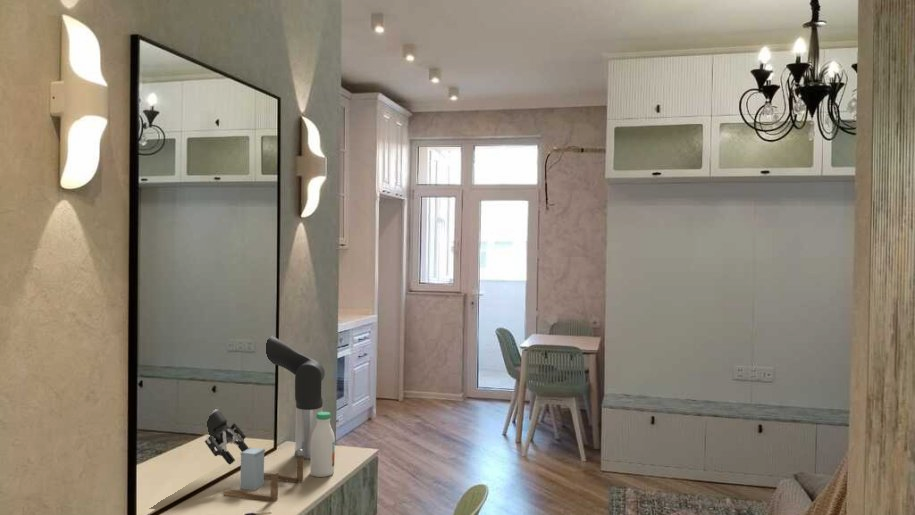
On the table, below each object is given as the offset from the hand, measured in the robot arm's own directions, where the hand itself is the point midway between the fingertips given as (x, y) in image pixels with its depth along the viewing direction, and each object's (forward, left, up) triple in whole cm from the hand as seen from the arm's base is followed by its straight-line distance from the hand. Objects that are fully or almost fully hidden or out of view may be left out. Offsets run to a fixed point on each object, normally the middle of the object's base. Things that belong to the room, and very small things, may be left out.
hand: (240, 457), depth 205 cm
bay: (0, +8, -8) cm, 12 cm away
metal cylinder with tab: (-8, +16, 0) cm, 18 cm away
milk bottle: (-17, +20, -9) cm, 27 cm away
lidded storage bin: (0, +4, -8) cm, 9 cm away
